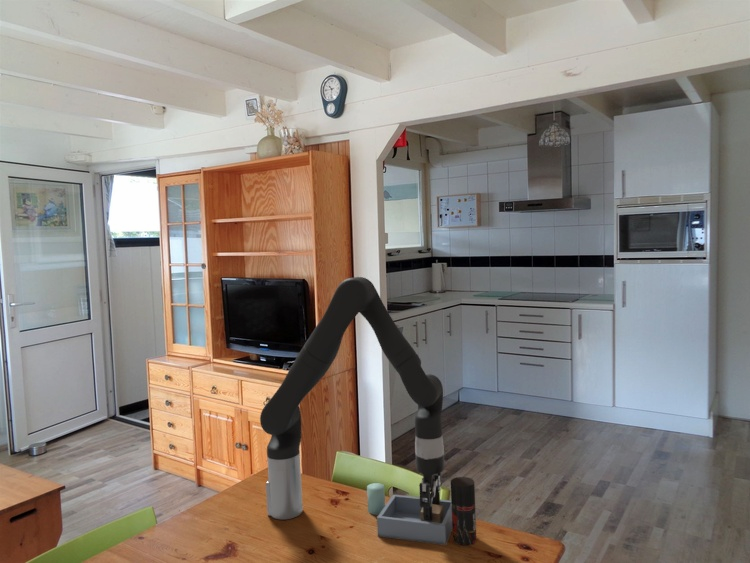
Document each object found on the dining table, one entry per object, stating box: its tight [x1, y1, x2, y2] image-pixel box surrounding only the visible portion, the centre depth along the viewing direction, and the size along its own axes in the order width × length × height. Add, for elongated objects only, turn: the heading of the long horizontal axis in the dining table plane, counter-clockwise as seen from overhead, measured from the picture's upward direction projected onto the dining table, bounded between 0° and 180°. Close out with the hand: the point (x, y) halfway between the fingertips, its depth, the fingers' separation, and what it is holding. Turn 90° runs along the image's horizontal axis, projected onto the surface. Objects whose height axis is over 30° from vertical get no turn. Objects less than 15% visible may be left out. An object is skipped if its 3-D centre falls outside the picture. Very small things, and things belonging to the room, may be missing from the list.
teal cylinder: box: [366, 482, 386, 516], centre depth 158 cm, size 5×5×7 cm
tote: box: [376, 494, 453, 546], centre depth 147 cm, size 18×14×5 cm
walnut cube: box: [420, 504, 444, 523], centre depth 146 cm, size 5×5×5 cm
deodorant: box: [450, 476, 477, 547], centre depth 140 cm, size 6×6×15 cm
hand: (432, 512), depth 146 cm, fingers open, 8 cm apart
